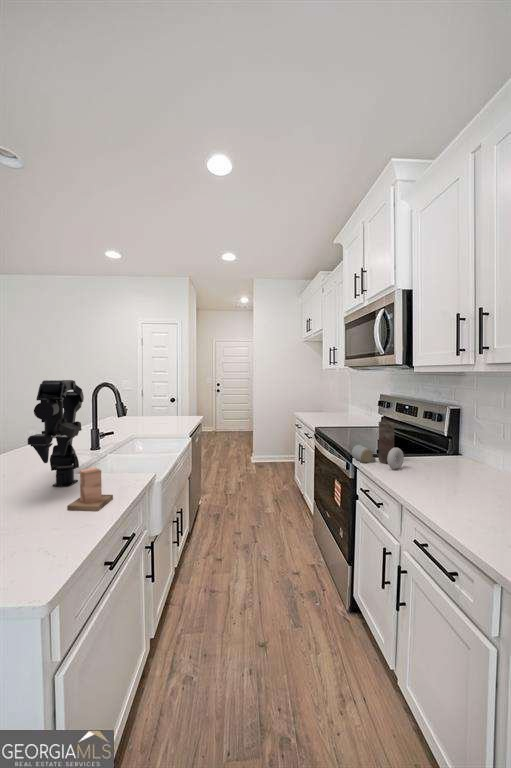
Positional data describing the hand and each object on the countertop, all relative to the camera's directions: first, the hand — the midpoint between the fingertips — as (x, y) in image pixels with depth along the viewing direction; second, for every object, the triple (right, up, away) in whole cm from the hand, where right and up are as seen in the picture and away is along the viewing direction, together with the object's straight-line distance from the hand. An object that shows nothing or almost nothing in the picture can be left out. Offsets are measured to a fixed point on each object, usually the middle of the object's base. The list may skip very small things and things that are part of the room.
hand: (54, 459), depth 117 cm
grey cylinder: (+126, -12, +48) cm, 135 cm away
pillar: (+17, -12, -7) cm, 22 cm away
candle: (+136, -12, +46) cm, 144 cm away
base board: (+17, -13, -7) cm, 23 cm away
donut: (+136, -13, +34) cm, 140 cm away
